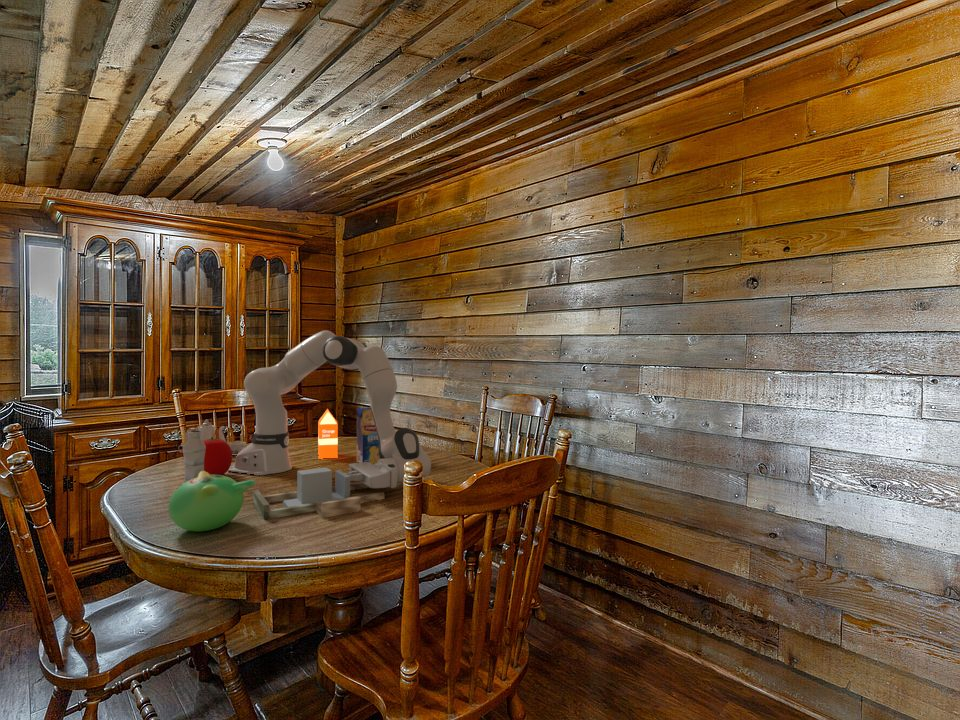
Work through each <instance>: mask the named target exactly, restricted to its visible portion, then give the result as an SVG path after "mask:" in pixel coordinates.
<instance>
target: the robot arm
mask: <svg viewBox="0 0 960 720" xmlns="http://www.w3.org/2000/svg"><path fill="white" fill-rule="evenodd" d="M326 362H328V364H331V365H332V366H335V367H339V368H340V369H341V368H342V369H346V370H347V369H348V370H353V371H359V372H360V373H361V375H360V376H361V378H362V380H363V383H364V386H365V389H366V393H367V396H368V400H369V405H370V406H369V407H371V411H372V416H373V420H374V423H375V427H376V431H377V435H378V439H379V447H378V453H379V457H380V458H381V459H379V460H378V461H377V463H374V464H372V463H370V462H361V463H358V462H351V463H350V464H349V465H348V472H344V473H345V474H347V475H348V476H350V482H352V481H353V482H362V483H364V484H365V485H367V488H370V489H384V488H385V489H386V488H391V489H395V488H397V487H398V486H397V485H398V484H399V483H404V482H403V477H404V464H405V463H406V462H407V461H411V460H417V461H420V462H421V463H422V464H423V477H424V478H423V479H425V478H427V477H428V476H429V474H430V473H431V470H432V461H431V458H430V455H429V454H427V453H426V452H425V451H424V449H423V447H422V445H421V443H420V440H419V439H420V438H419V437H418V435H417V433H416V431H414V430H412V429H411V428H408V427H401V428H399V429H397V430H396V429H395V427H394V423H393V418H392V416H391V407H392V403H393V400H394V398H395V395H396V393H397V390H398V382H397V377H396V374H395V371H394V369H393V367H392V364H391V362H390V359H389V358H388V355H387V354H386V352H385V351H384V350H383V348H382V347H381V346H380V345H367V344H365V343H363V342H361V341H359V340H356V339H354V338H349V337H345V336H343V335H342V336H340V335H336V334H335V333H334V332H332V331H330V330H321V331H318V332H316V333H315V334H312V335H311V336H309V337H307V338H306V339H304V340H303V341H301V342H299V344H297V345H296V346H294V347H293V348H291V349H290V350H289V351H287V352H286V353H285V355H284V357H283V358H282V359H281V361H279V362H278V363H277V364H275V365H273V366H268V367H259V368H257V369H254V370H252V371H250V372H249V373H247V374H246V376H245V377H244V380H243V387H244V390H245V392H246V393H247V394H248V395H249V396H250V399H251V400H252V404H253V407H254V410H255V432H254V433H253V434H251V435H249V440H251V443H249V444H248V445H247V446H245V448H244V449H243V450H242V451H240V452H239V453H238V454H237V456H235V460H234V464H233V465H231V466H230V468H229V470H228V471H232V472H239V473H238V474H241V473H247V474H246V475H250V474H254V475H253V476H259V475H260V476H266V475H271V474H279V473H285V472H287V471H290V470H292V469H293V466H292V463H291V458H290V454H289V453H290V452H289V443H290V435H289V434H290V433H289V431H288V411H287V409H286V408H285V406H284V405H283V401H282V396H281V395H285V394H287V393H289V392H290V391H292V390H294V389H295V387H296V386H298V384H299V383H300V382H301V381H302V380H303V379H304V378H306V377H307V376H308V375H309V374H311V373H313V372H314V371H315V370H317V369H318V368H320V367H322V365H324V364H325V363H326ZM228 471H227V472H228ZM232 472H231V473H232Z"/></svg>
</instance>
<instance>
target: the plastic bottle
mask: <svg viewBox="0 0 960 720" xmlns="http://www.w3.org/2000/svg"><path fill="white" fill-rule="evenodd" d="M200 437H201V431H200V430H197V429H193V430H190V431H188V433H187V439H188V440H187V441H185V442H184V443H185V444H184V446H182V453H183V454H182V455H183V459H184V480H183V483H182V484H184V483H185V482H187V481H189V480H191V479H193V478H196V477H198V474H199V473H200V472H201V471H204V457H205V450H206V446H205V444H204V442H203V441H202V440H201V439H200Z"/></svg>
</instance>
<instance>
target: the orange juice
mask: <svg viewBox="0 0 960 720" xmlns="http://www.w3.org/2000/svg"><path fill="white" fill-rule="evenodd" d="M317 423H318V424H317V425H318V429H317V431H318V433H317V434H318V437H317V443H318V444H317V445H318V449H317V451H318V455H319V456H318V460H319V459H321V460H324V459H323V458H339V457H338V456H339V455H338V454H339V453H338V449H339V448H338V445H339V441H338V440H339V438H338V436H339V435H338V434H339V433H338V429H339V425H338V420H337V419H335V417H334V416H333V414H332V413H331V412H330V410H329V408H326V410H325V412H324V413H323V414H322V416H321V417H320V418H319V420H318V422H317Z"/></svg>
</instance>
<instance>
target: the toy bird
mask: <svg viewBox="0 0 960 720" xmlns="http://www.w3.org/2000/svg"><path fill="white" fill-rule="evenodd" d="M183 483H184V482H183ZM183 483H182V484H181V485H179V487H178V488H176V490H175V491H174V492H173V494H172V495H171V497H170V499H169V501H168V502H169V503H168V514H169V517H170V519H171V520H172V522H173V523H174V524H175V525H176V526H177V527H179V528H181V529H183V530H185V531H189V532H199V533H200V532H208V531H211V530H215V529H218V528H219V529H220V528H221V527H223V526H225V525H226V524H227V525H228V523H230V522H231V521H232V520H234V518H235V517H236V516H237V515H238V514H239V512H240V511H241V509H242V507H243V505H244V504H243V503H244V496H245V495H244V493H245V492H246V491H247V490H250V489H251V488H252V487H254V485H256V484H257V479H248V480H243V481H239V482H237V481H236V480H235V479H233V478H231V477H229V476H226V475H210V474H209V473H207V472H206V471H201V472H200V473H199V474H198V477H196V478H193V479H191V480H189V481H187V482H185V483H184V484H183Z"/></svg>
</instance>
